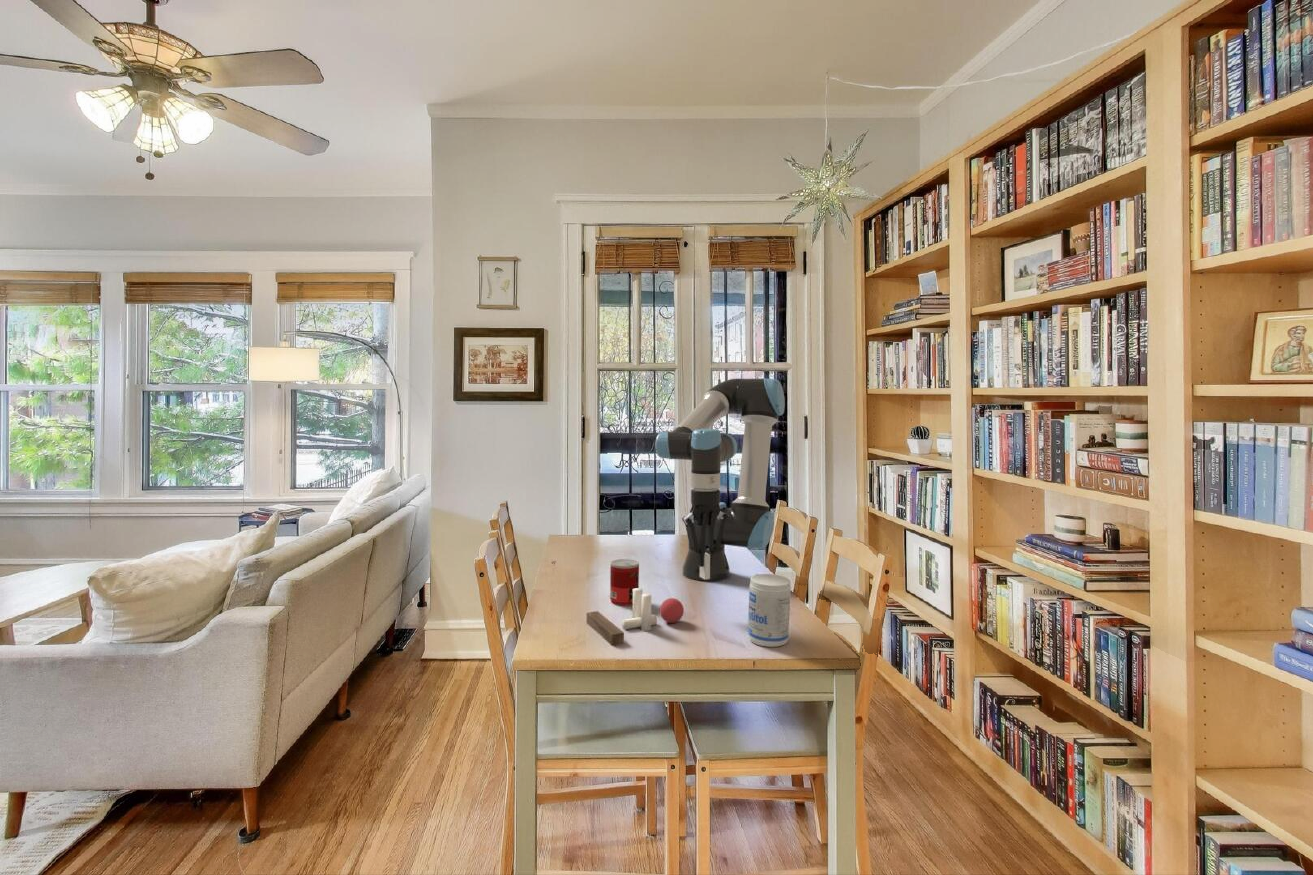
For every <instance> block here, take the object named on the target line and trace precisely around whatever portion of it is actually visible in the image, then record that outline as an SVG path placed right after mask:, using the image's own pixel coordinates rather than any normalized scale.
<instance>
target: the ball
mask: <svg viewBox="0 0 1313 875" xmlns="http://www.w3.org/2000/svg"><path fill="white" fill-rule="evenodd" d="M684 610H685V609H684V605H683V603H682V602H681V601H680V600H679V599H677V598H667V599H665V600H664V601H663V602H662V603H661V604H660V608H659V613H660V616H661V618H662V619H663V620H664V621H665V622H667V623H670V624H671V623H678V622H679V621H680V620H681V619H682V618H683V615H684V612H685V611H684Z"/></svg>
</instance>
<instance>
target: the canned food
mask: <svg viewBox="0 0 1313 875" xmlns="http://www.w3.org/2000/svg"><path fill="white" fill-rule="evenodd" d="M609 570H610V572H609V573H610V577H609V578H610V579H609V580H610V586H609V587H610V588H609V589H610V590H609V591H610V594H609V596H610V601H611V602H610V603H612V604H614V605H617V606H633V605H632V604H633V589H635V588H640V563H639V561H637V560H634V559H630V558H620V559H619V558H618V559H614V560H612V561H611V562H610V568H609Z"/></svg>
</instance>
